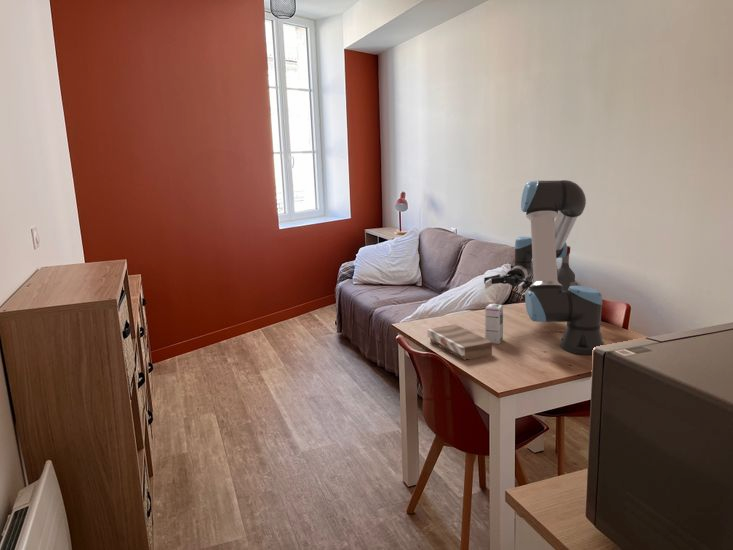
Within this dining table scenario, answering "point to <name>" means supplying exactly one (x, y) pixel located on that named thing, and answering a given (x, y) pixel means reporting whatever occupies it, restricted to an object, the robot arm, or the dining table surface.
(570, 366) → the dining table surface
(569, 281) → the liquor
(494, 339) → the syrup box
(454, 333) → the striped flat box
